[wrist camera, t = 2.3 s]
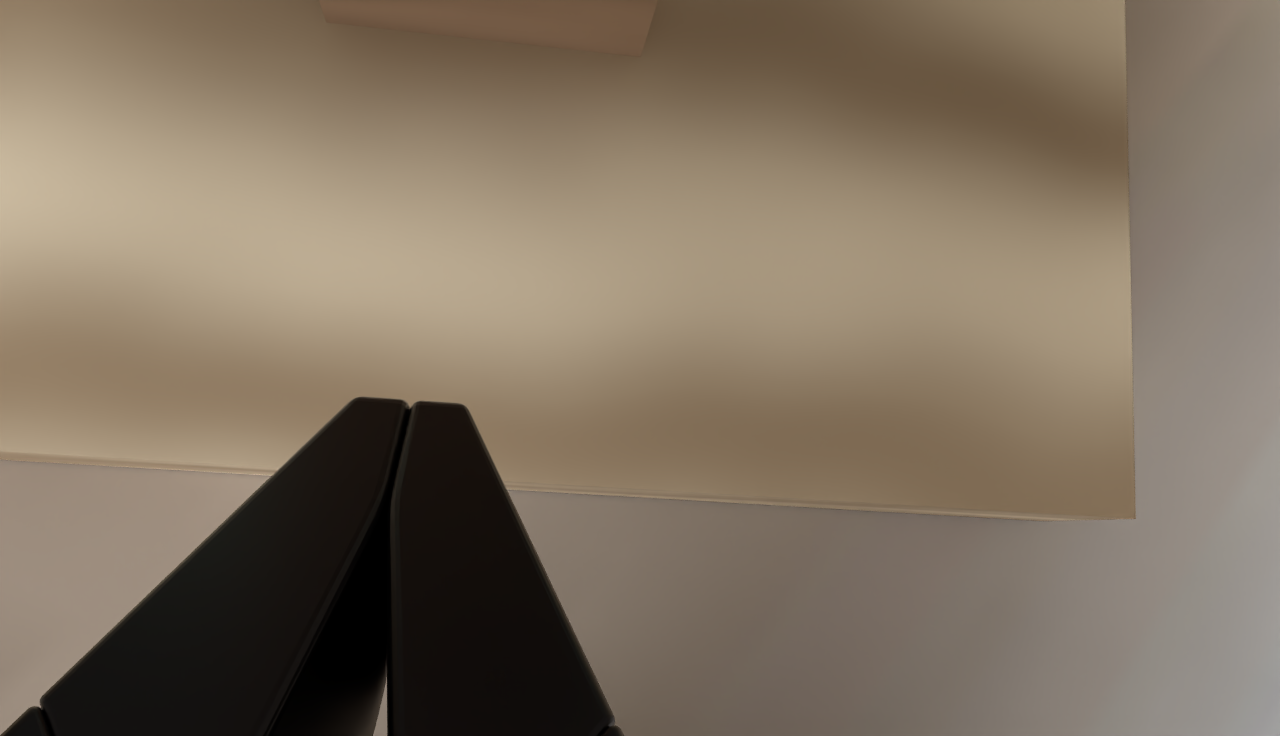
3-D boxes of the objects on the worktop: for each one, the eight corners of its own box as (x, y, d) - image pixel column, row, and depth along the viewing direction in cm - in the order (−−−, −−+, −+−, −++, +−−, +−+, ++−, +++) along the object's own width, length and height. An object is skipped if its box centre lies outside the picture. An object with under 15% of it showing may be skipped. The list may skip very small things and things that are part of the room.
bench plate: (1043, 521, 20) (1135, 518, 18) (-220, 447, 18) (-361, 428, 15) (1038, -150, 23) (1119, -252, 20) (-83, -308, 20) (-183, -453, 17)
